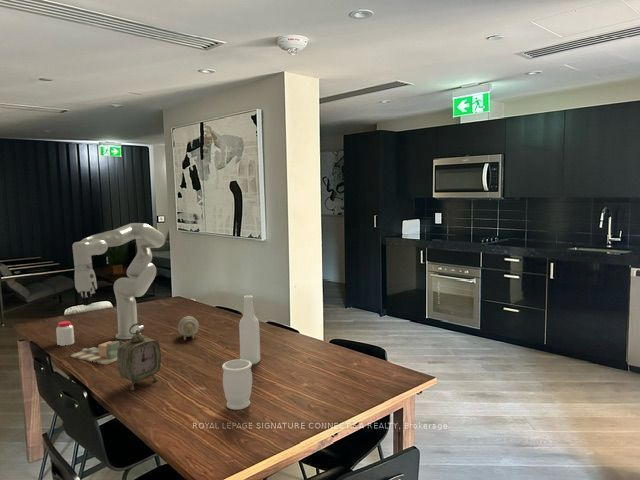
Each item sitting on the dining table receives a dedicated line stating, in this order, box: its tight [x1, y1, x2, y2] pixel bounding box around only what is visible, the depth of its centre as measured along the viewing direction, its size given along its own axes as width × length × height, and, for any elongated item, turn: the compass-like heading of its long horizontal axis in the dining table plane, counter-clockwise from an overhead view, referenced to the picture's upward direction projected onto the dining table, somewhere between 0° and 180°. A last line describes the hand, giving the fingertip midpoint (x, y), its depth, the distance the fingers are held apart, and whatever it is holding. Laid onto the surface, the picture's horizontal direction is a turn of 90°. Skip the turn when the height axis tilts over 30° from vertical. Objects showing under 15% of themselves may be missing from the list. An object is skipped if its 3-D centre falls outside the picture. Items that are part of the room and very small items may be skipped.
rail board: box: [70, 340, 121, 366], centre depth 218 cm, size 24×12×8 cm, turn 63°
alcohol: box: [238, 294, 261, 366], centre depth 207 cm, size 9×9×30 cm
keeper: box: [97, 340, 112, 358], centre depth 215 cm, size 5×6×6 cm
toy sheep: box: [177, 315, 200, 341], centre depth 246 cm, size 11×17×11 cm, turn 23°
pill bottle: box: [55, 320, 75, 347], centre depth 238 cm, size 8×8×11 cm
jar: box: [221, 359, 253, 411], centre depth 166 cm, size 11×10×15 cm
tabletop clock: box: [116, 322, 162, 391], centre depth 185 cm, size 14×9×25 cm, turn 148°
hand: (87, 304), depth 225 cm, fingers closed
